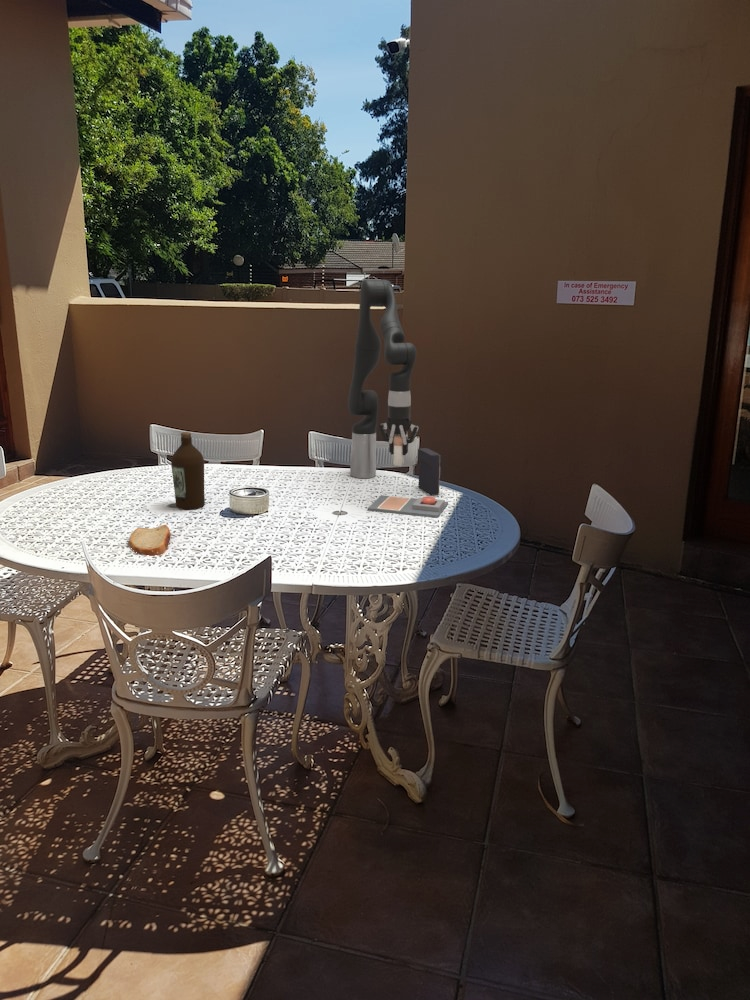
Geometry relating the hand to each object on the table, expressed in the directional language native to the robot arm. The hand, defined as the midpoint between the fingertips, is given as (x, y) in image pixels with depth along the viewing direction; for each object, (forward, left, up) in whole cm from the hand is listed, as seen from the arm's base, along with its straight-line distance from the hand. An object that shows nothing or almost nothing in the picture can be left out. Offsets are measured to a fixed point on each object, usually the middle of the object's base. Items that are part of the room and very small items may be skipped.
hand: (398, 454), depth 253 cm
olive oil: (-65, -27, -17) cm, 73 cm away
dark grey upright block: (+7, +17, -17) cm, 25 cm away
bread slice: (-57, -62, -18) cm, 86 cm away
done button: (+12, -4, -15) cm, 20 cm away
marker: (0, 0, -4) cm, 4 cm away
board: (+5, -4, -17) cm, 18 cm away
